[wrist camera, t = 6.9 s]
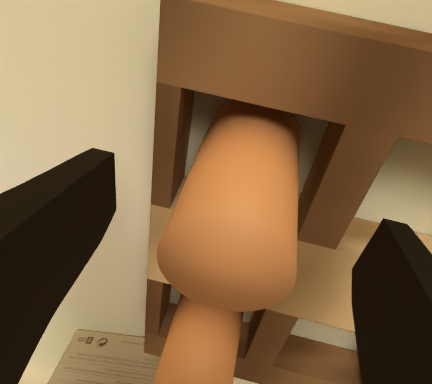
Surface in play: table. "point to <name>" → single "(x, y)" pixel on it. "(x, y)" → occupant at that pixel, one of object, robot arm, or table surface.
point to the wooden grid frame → (323, 164)
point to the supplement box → (105, 360)
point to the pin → (200, 345)
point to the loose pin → (237, 213)
